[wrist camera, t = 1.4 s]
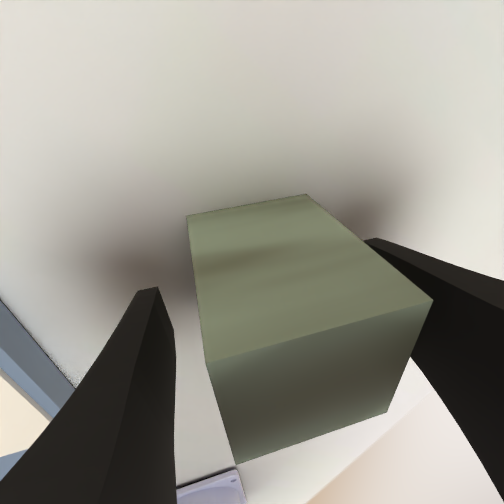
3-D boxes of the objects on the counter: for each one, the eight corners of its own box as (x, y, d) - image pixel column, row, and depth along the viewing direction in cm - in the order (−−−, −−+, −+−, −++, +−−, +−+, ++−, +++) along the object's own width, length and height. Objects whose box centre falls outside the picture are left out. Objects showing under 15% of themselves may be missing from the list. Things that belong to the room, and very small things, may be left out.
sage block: (302, 283, 13) (386, 412, 8) (208, 306, 12) (235, 465, 7) (305, 193, 10) (433, 299, 5) (186, 215, 9) (205, 363, 4)
